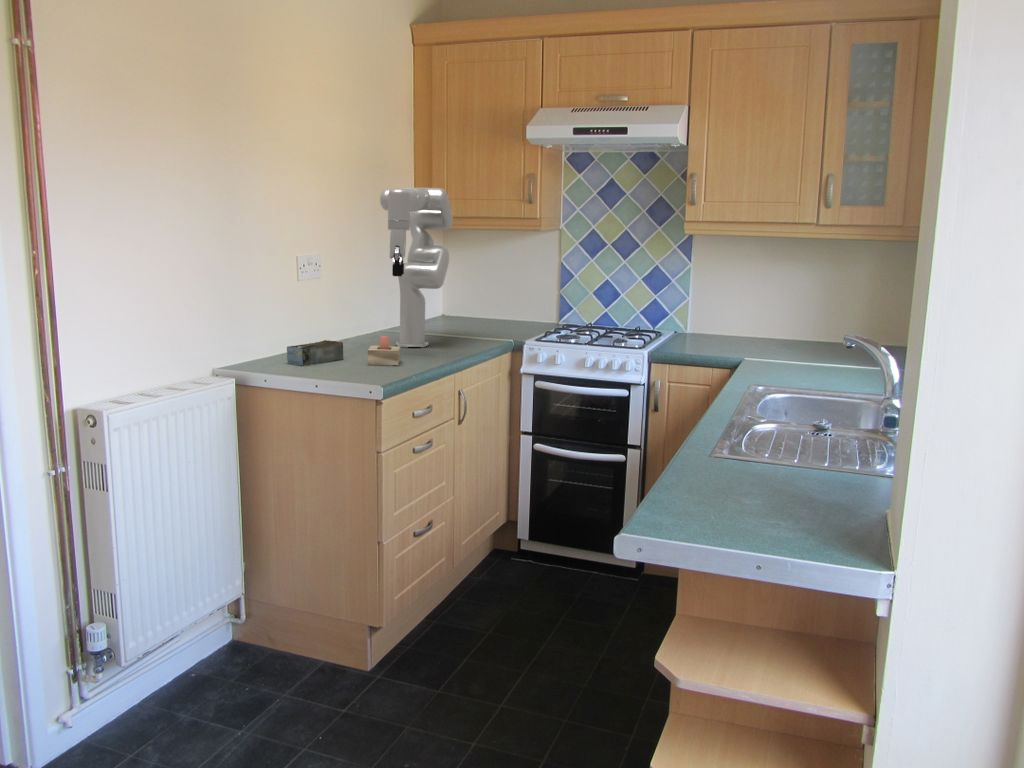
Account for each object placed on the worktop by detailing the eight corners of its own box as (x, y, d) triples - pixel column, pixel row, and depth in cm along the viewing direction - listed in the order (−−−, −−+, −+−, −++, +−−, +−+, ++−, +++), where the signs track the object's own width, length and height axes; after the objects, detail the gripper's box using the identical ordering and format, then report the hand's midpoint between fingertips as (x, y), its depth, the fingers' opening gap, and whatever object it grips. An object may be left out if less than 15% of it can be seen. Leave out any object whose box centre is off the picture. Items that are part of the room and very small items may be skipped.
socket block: (370, 360, 295) (371, 345, 294) (400, 360, 295) (400, 346, 294) (367, 365, 285) (367, 350, 284) (398, 365, 285) (398, 351, 284)
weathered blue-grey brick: (285, 364, 283) (285, 344, 281) (328, 357, 298) (328, 338, 297) (302, 367, 278) (302, 346, 277) (344, 360, 294) (344, 341, 293)
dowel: (379, 362, 292) (380, 335, 290) (389, 362, 292) (389, 336, 290) (378, 363, 288) (379, 337, 287) (388, 363, 289) (388, 337, 287)
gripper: (390, 225, 307) (389, 273, 311) (385, 225, 290) (385, 276, 294) (411, 225, 308) (410, 273, 311) (408, 226, 291) (407, 277, 294)
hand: (398, 275), depth 302 cm, fingers open, 9 cm apart
